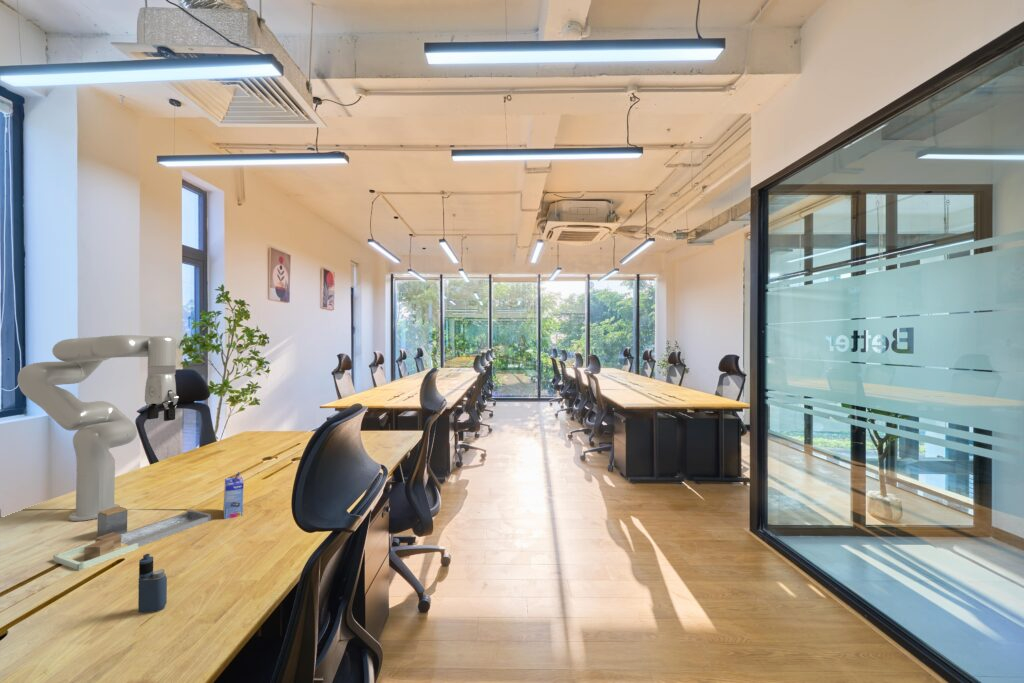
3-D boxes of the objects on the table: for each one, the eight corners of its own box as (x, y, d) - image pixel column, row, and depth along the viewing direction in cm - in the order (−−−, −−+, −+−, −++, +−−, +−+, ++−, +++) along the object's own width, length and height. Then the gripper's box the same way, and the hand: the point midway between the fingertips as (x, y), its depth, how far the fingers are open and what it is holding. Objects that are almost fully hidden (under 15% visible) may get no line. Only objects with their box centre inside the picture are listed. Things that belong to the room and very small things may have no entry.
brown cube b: (84, 562, 110) (84, 547, 110) (98, 555, 114) (98, 540, 114) (99, 561, 110) (100, 547, 110) (113, 554, 114) (113, 540, 114)
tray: (53, 564, 109) (53, 555, 109) (112, 544, 121) (112, 535, 121) (78, 574, 104) (78, 564, 105) (137, 552, 116) (137, 543, 116)
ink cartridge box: (243, 518, 139) (244, 475, 140) (223, 522, 136) (224, 479, 136) (241, 509, 147) (242, 469, 147) (223, 513, 144) (223, 472, 144)
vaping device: (144, 606, 91) (145, 552, 92) (169, 604, 92) (170, 551, 92) (134, 613, 89) (135, 558, 89) (160, 612, 89) (161, 556, 89)
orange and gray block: (97, 539, 124) (97, 511, 124) (118, 532, 128) (118, 505, 129) (106, 542, 122) (106, 514, 122) (127, 535, 127) (127, 508, 127)
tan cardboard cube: (95, 552, 115) (95, 538, 115) (113, 546, 119) (113, 532, 119) (103, 554, 114) (103, 540, 114) (121, 548, 117) (121, 534, 117)
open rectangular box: (115, 544, 121) (115, 534, 121) (190, 518, 139) (190, 509, 139) (137, 550, 117) (137, 540, 117) (210, 523, 135) (211, 514, 135)
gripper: (134, 371, 143) (133, 419, 143) (164, 372, 137) (163, 422, 137) (159, 370, 150) (158, 416, 150) (188, 370, 144) (188, 419, 143)
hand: (161, 419), depth 143 cm, fingers open, 9 cm apart
